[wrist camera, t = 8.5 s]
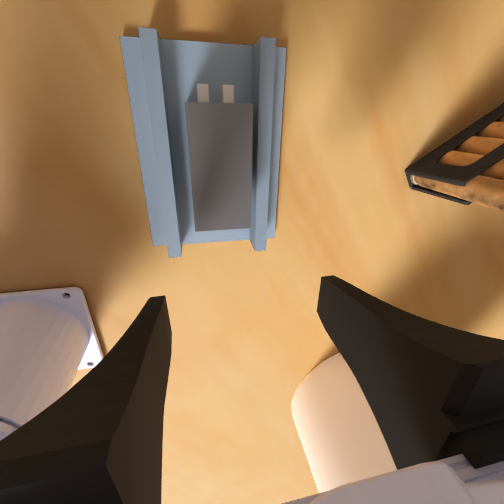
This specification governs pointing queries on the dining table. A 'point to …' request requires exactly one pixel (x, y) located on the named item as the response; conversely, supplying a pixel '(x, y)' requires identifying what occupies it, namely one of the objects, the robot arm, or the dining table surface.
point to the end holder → (175, 131)
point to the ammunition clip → (466, 165)
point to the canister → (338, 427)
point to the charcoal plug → (220, 160)
